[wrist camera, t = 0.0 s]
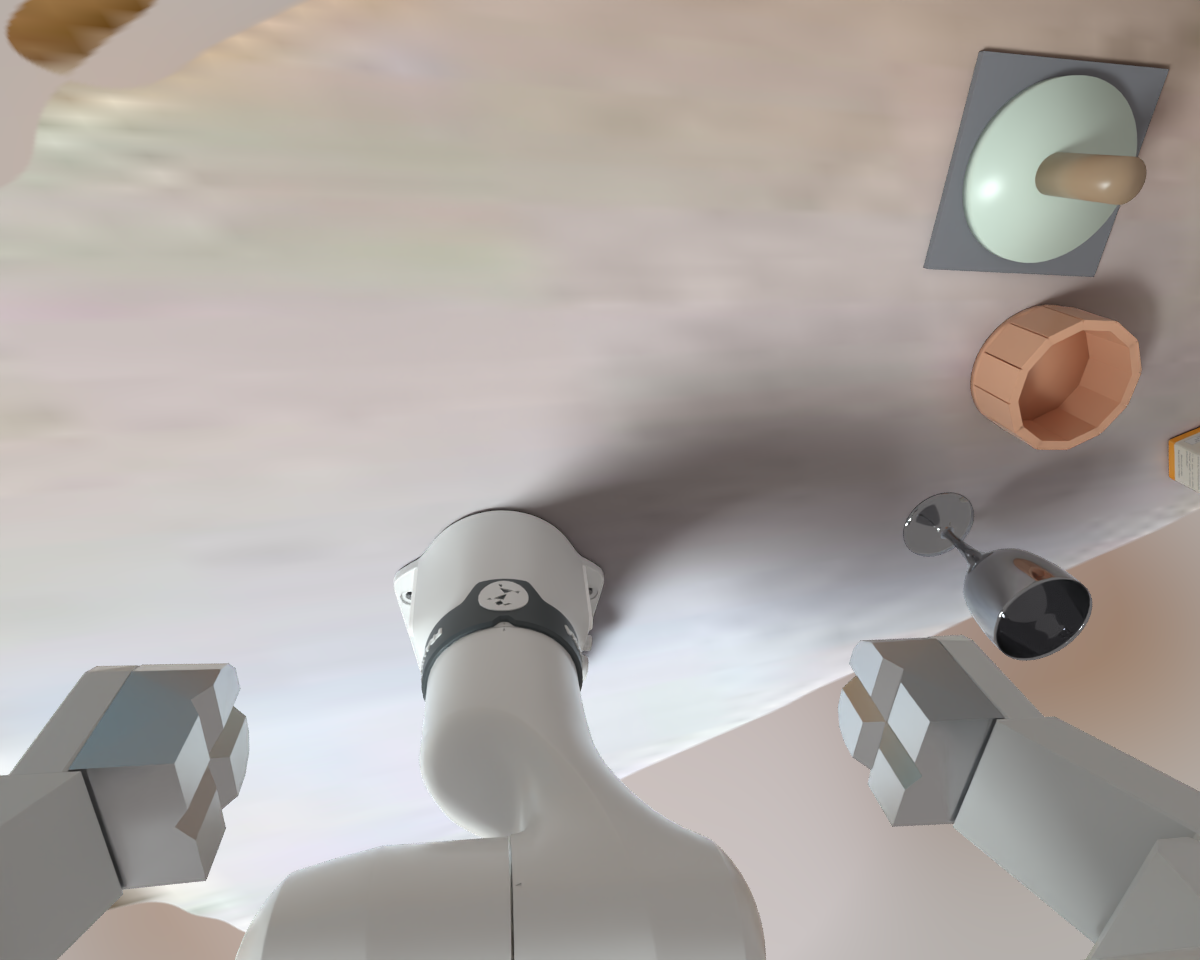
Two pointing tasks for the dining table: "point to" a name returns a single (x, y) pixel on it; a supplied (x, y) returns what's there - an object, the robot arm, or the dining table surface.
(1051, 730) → the robot arm
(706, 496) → the dining table surface
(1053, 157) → the lid
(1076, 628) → the wine glass
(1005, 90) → the mat
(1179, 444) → the supplement box
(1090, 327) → the bowl
